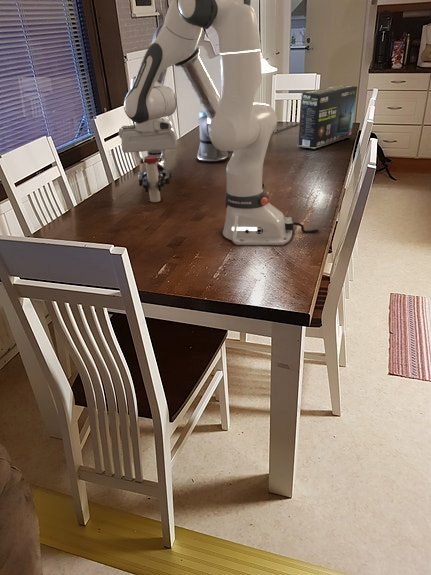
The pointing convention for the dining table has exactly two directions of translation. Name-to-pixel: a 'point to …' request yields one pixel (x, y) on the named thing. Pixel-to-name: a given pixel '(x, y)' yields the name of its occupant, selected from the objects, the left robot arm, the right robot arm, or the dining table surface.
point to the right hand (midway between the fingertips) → (151, 162)
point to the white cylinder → (153, 182)
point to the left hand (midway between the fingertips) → (152, 188)
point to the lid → (150, 159)
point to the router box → (326, 115)
